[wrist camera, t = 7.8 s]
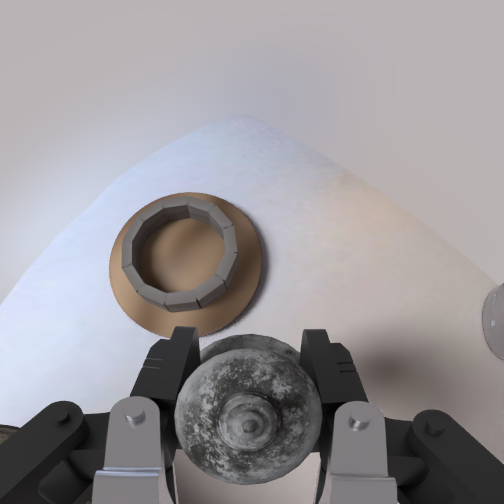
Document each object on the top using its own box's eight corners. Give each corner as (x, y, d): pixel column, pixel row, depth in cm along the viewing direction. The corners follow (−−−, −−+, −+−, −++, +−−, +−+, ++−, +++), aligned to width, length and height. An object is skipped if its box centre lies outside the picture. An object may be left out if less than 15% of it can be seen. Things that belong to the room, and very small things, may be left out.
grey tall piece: (329, 423, 14) (486, 458, 3) (224, 477, 13) (173, 620, 2) (272, 326, 16) (317, 180, 6) (170, 377, 15) (17, 324, 4)
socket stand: (282, 225, 33) (286, 205, 30) (225, 364, 27) (221, 360, 24) (156, 183, 35) (148, 162, 32) (89, 300, 30) (72, 288, 26)
